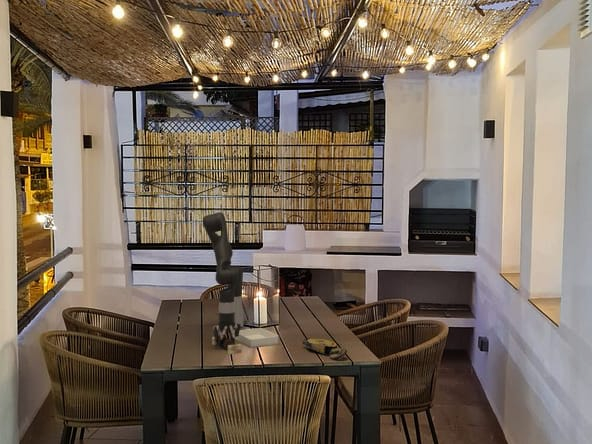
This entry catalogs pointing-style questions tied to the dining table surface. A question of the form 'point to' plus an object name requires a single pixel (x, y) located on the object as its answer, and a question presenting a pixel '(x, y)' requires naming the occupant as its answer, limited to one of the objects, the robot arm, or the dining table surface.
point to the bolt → (225, 342)
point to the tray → (257, 338)
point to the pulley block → (325, 347)
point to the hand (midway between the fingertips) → (226, 346)
